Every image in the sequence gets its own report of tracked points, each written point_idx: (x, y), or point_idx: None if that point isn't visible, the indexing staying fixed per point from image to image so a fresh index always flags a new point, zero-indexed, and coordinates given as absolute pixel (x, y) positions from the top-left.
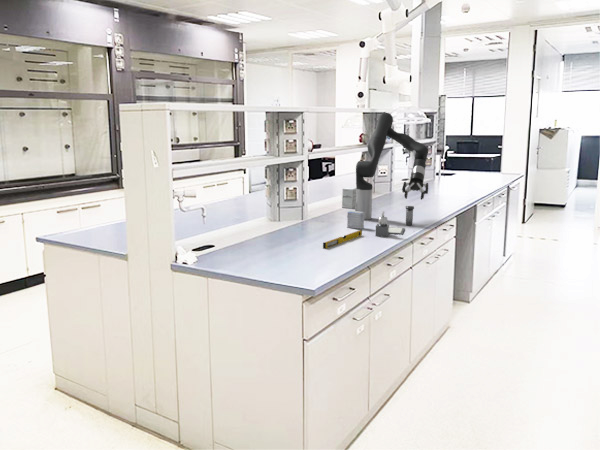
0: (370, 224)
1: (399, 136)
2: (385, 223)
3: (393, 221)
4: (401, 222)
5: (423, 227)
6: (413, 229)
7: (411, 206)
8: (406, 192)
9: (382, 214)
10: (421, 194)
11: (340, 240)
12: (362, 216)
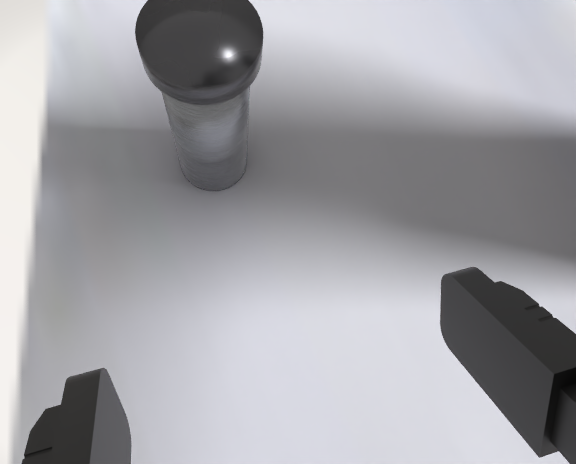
0: (500, 20)
1: None
2: None
3: (424, 247)
4: (336, 247)
5: (52, 144)
6: (109, 22)
7: (180, 46)
8: (545, 339)
9: None
10: (81, 445)
11: None
12: None
